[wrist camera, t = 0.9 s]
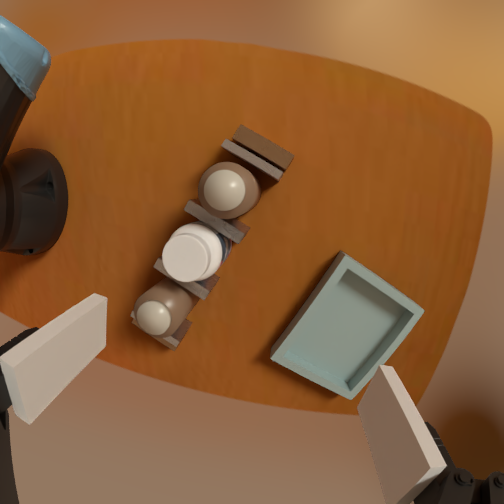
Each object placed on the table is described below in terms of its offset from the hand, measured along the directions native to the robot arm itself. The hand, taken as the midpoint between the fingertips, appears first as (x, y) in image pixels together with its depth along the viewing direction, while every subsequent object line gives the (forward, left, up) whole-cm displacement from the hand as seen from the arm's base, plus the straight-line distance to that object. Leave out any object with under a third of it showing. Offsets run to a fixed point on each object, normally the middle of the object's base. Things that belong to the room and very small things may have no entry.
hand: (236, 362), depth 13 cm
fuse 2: (-6, +5, -20) cm, 22 cm away
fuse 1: (-6, -8, -20) cm, 23 cm away
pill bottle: (-6, -1, -21) cm, 21 cm away
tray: (+12, -1, -20) cm, 24 cm away
